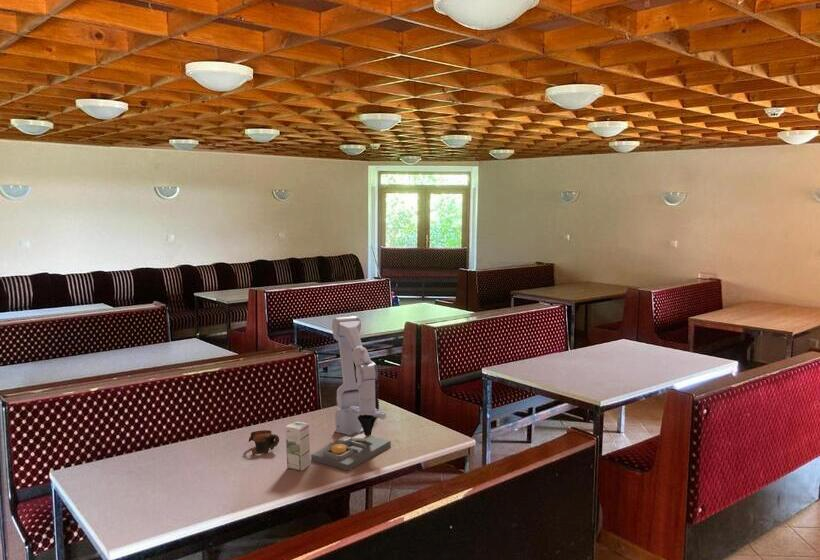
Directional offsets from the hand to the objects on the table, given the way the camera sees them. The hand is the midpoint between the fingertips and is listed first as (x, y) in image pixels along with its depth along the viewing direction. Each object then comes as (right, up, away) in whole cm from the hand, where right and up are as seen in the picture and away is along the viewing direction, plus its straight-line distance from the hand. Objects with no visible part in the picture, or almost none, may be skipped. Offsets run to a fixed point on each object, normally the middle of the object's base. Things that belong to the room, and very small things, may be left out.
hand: (367, 435), depth 213 cm
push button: (-9, -4, -9) cm, 13 cm away
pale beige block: (-8, -3, -2) cm, 9 cm away
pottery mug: (-37, -6, +1) cm, 37 cm away
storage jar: (-3, -1, +37) cm, 37 cm away
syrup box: (-22, -7, -13) cm, 27 cm away
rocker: (-2, -1, +2) cm, 3 cm away
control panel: (-5, -5, -3) cm, 8 cm away
